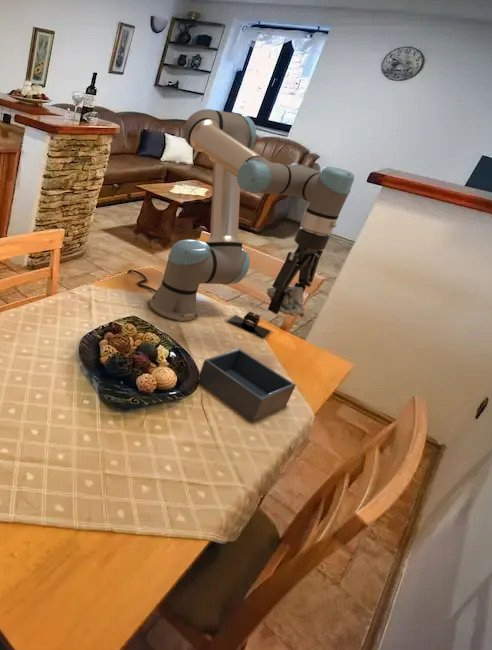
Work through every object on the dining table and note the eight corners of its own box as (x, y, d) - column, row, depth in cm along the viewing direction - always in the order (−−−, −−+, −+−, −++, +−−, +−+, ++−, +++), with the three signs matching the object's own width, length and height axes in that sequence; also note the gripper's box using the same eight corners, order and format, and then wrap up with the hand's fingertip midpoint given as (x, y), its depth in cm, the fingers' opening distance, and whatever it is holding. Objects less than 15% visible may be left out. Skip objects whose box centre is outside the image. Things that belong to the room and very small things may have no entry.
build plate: (270, 332, 164) (275, 320, 162) (262, 339, 159) (267, 326, 157) (235, 316, 171) (240, 304, 168) (226, 322, 165) (231, 309, 163)
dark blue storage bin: (196, 381, 131) (204, 359, 128) (231, 368, 140) (239, 348, 136) (252, 422, 119) (262, 399, 116) (285, 406, 128) (296, 384, 125)
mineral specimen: (277, 330, 137) (286, 309, 144) (306, 323, 131) (314, 302, 138) (260, 302, 135) (269, 282, 141) (288, 293, 129) (297, 273, 135)
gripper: (306, 239, 118) (272, 322, 129) (348, 233, 131) (314, 308, 142) (278, 228, 123) (248, 308, 134) (322, 223, 136) (291, 296, 147)
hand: (282, 308), depth 138 cm, fingers closed on mineral specimen, 9 cm apart
